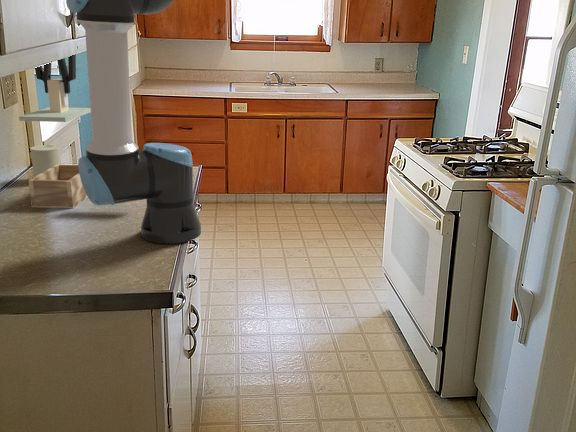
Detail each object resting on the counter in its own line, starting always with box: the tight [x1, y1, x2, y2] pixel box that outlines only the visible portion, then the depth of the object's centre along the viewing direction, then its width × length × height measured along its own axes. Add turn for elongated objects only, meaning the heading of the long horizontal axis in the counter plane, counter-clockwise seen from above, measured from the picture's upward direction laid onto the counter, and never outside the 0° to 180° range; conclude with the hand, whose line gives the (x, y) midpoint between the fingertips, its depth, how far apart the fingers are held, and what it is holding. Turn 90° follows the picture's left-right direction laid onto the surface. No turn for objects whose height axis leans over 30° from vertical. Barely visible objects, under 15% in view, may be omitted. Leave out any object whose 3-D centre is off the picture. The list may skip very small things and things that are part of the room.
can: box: [30, 144, 62, 178], centre depth 185 cm, size 9×9×12 cm
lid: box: [18, 78, 91, 123], centre depth 160 cm, size 21×13×10 cm, turn 0°
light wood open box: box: [27, 164, 88, 209], centre depth 168 cm, size 20×12×8 cm, turn 0°
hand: (59, 104), depth 162 cm, fingers closed on lid, 3 cm apart
